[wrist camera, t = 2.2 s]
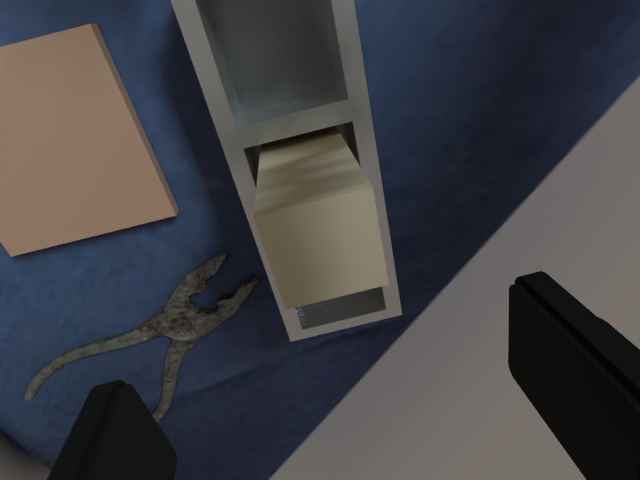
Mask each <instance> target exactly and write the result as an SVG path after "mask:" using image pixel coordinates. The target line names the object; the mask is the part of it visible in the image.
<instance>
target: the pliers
mask: <svg viewBox="0 0 640 480" xmlns="http://www.w3.org/2000/svg"><path fill="white" fill-rule="evenodd" d="M226 254H227V253H225V252H222V253H221V254H219V255H217V256H216V257H214V258H213V259H211V260H209V261H208V262H206V263H205V264H203V265H201V266H200V267H198V268H196V269H195V270H193V271H192V272H190V273H188V274H187V275H185V276H184V277H183V278H182V280H181V281H180V283H179V284H178V286H177V287H176V289H175V290H174V292H173V293H172V295H171V296H170V298H169V299H168V301H167V302H166V304H165V305H164V307H163V308H162V310H161V311H160V312H158V313H157V314H156V315H155V316H153V317H152V318H151V319H150V320H148V322H146V323H144V324H143V325H141V326H140V327H138V328H136V329H133V330H131V331H129V332H126V333H123V334H120V335H117V336H114V337H111V338H107V339H104V340H101V341H97V342H94V343H90V344H87V345H84V346H80V347H78V348H75V349H73V350H70V351H67V352H66V353H64V354H62V355H60V356H58V357H56V358H55V359H54V360H52V361H51V362H50V363H48V364H47V365H46V366H45V367H44V368H43V369H42V370H41V371H40V372H39V373H38V374H37V375H36V376H35V378H34V379H33V380H32V382H31V383H30V385H29V387H28V388H27V390H26V393H25V396H24V397H25V399H26V400H29V399H32V398H33V396H34V395H35V393H36V391H37V390H38V388H39V386H40V385H41V384H42V383H43V381H44V380H45V379H46V378H47V377H48V376H50V375H51V374H52V373H53V372H54V371H56V370H57V369H59V368H60V367H62V366H64V365H66V364H68V363H70V362H72V361H74V360H78V359H81V358H84V357H88V356H92V355H95V354H99V353H103V352H108V351H112V350H117V349H121V348H125V347H129V346H133V345H136V344H139V343H142V342H144V341H147V340H150V339H153V338H155V337H158V336H164V335H166V336H168V337H170V338H172V342H171V344H170V347H169V350H168V353H167V356H166V360H165V366H164V380H163V391H162V397H161V402H160V404H159V406H158V409H157V410H156V411H155V413H154V414H153V418H154V419H155V421H156V422H157V423H158V422H159V421H160V419H161V418H162V417H163V416H164V415H165V413H166V412H167V410H168V408H169V406H170V404H171V401H172V398H173V395H174V390H175V386H176V381H177V376H178V371H179V367H180V363H181V361H182V358H183V356H184V354H185V353H186V352H187V350H190V348H191V347H192V346H193V345H194V344H195V343H196V342H197V340H198V339H199V338H200V337H202V336H204V335H205V334H207V333H209V332H210V331H212V330H213V329H214V328H216V327H217V326H218V325H220V324H221V323H222V322H224V321H225V320H226V319H228V318H229V317H231V316H232V315H233V314H235V313H236V311H237V310H238V309H239V307H240V306H241V304H242V303H243V302H244V300H245V299H246V297H247V296H248V295H249V293H250V292H251V290H252V289H253V288H254V286H255V285H256V284H257V282H258V276H257V275H255V276H254V277H252V278H251V279H249V280H247V281H246V282H244V283H243V284H241V285H239V286H238V288H237V289H236V292H234V293H233V294H232V295H231V294H230V295H227V296H226V295H225V296H222V297H220V298H218V302H217V303H218V306H219V307H218V308H217V309H215V310H208V309H205V308H202V309H201V310H198V309H196V308H195V307H194V304H195V302H194V301H193V300H192V299H191V298H190V295H192V294H194V293H203V292H204V290H205V288H206V280H207V278H208V277H210V276H211V275H212V276H213V275H215V273H216V272H217V270H218V269H219V267H220V266H221V264H222V263H223V261H224V259H225V258H226Z"/></svg>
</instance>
